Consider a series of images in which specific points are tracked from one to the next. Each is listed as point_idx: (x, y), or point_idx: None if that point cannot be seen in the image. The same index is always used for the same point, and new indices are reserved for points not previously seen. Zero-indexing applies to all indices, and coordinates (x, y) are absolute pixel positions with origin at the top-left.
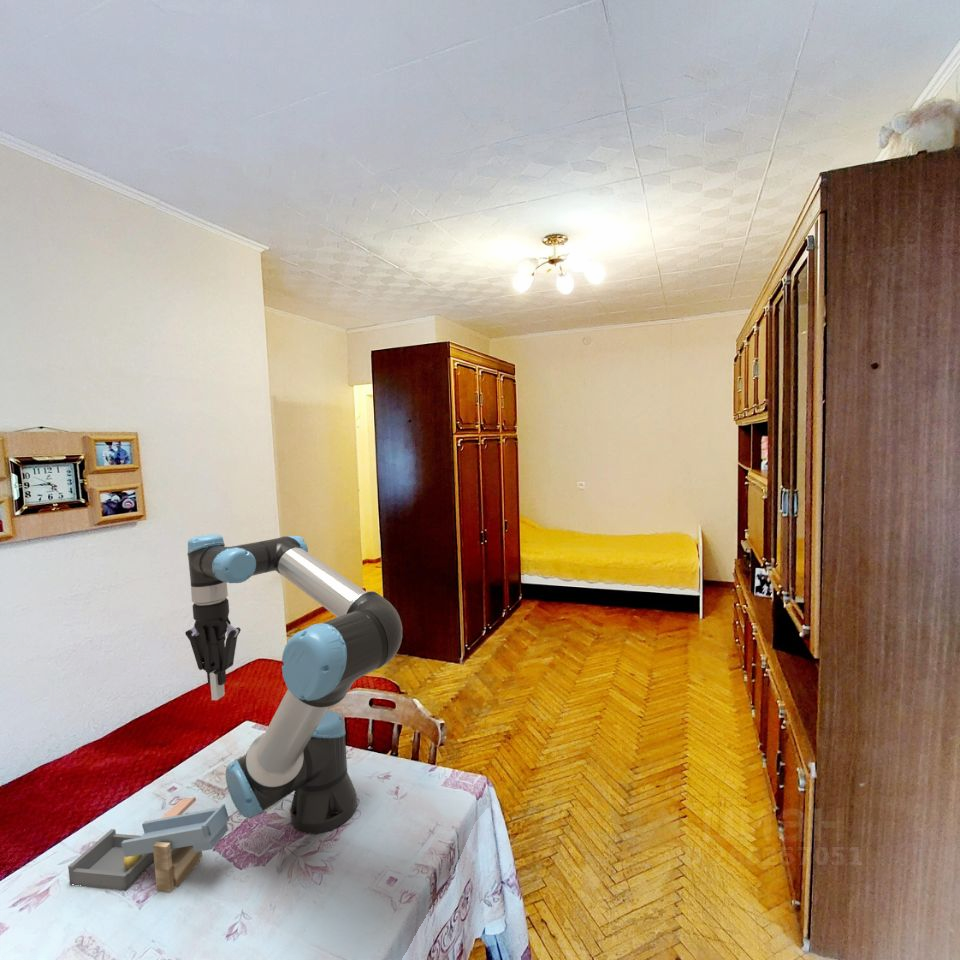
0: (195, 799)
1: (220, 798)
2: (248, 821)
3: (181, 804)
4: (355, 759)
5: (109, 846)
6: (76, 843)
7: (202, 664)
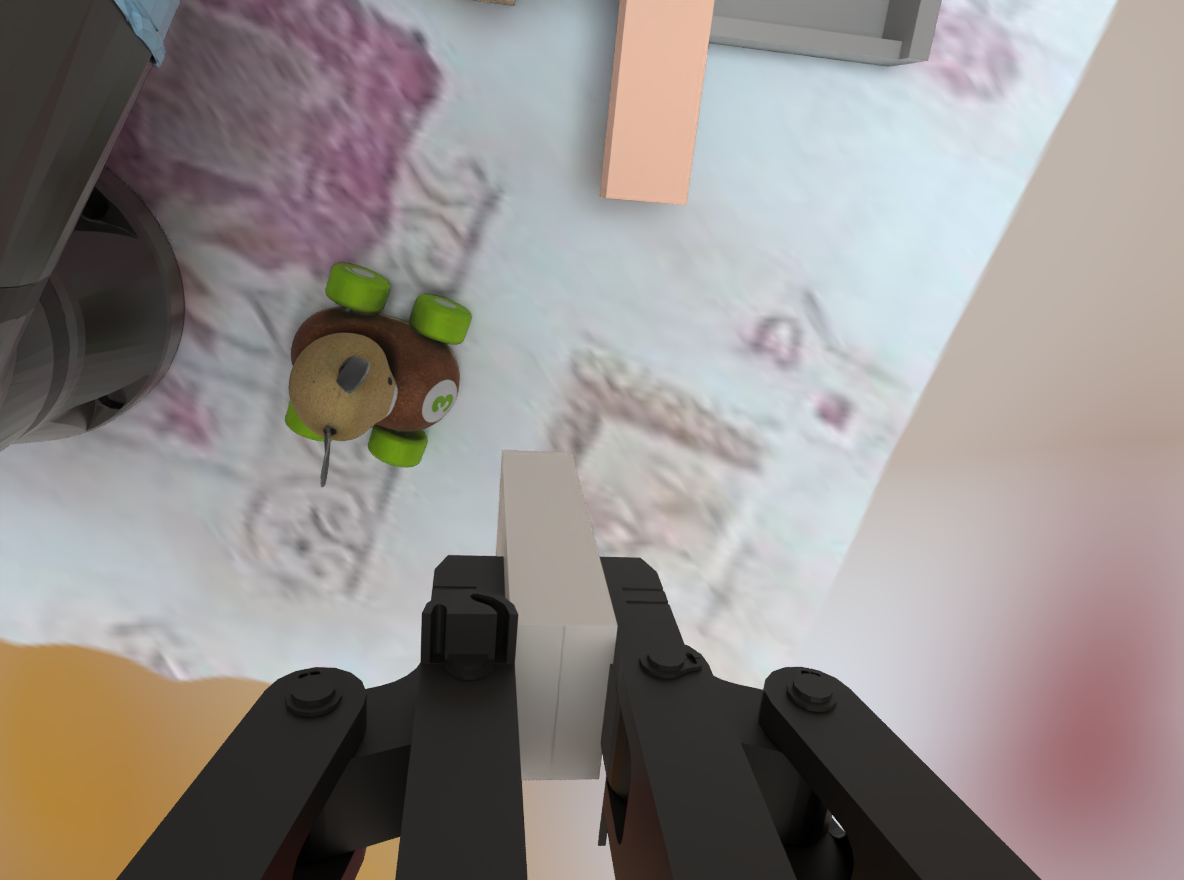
0: (601, 193)
1: (585, 356)
2: (364, 213)
3: (652, 155)
4: (79, 620)
5: (892, 23)
6: (1053, 86)
7: (793, 742)
